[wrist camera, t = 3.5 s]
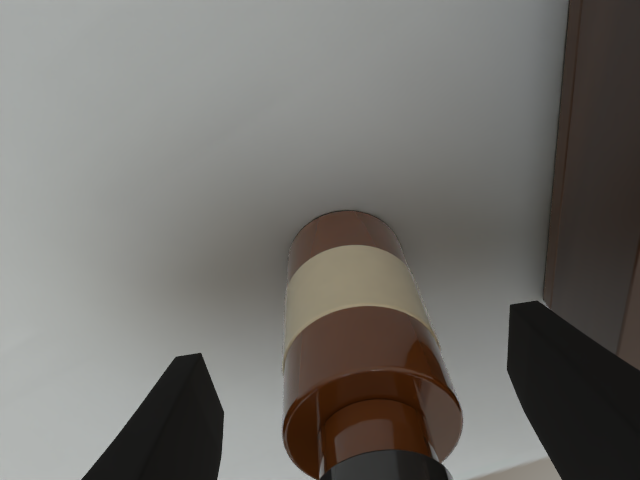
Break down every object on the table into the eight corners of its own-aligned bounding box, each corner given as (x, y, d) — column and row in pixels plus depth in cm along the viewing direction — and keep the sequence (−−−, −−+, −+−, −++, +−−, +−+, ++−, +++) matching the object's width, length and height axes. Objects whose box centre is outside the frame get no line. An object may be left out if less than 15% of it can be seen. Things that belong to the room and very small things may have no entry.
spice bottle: (398, 198, 14) (511, 453, 7) (407, 298, 16) (502, 584, 8) (275, 218, 14) (250, 489, 7) (298, 314, 16) (298, 611, 9)
